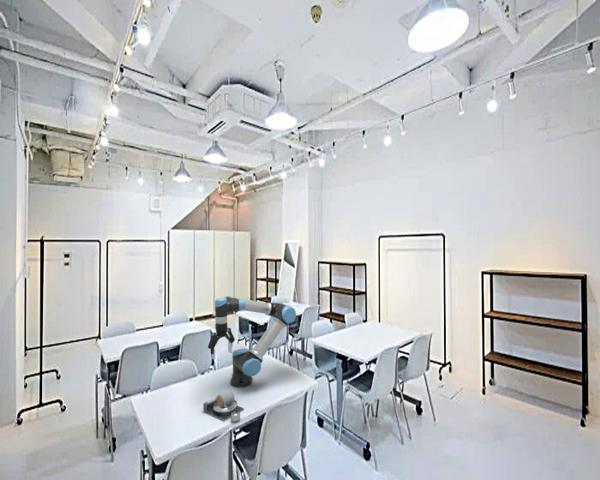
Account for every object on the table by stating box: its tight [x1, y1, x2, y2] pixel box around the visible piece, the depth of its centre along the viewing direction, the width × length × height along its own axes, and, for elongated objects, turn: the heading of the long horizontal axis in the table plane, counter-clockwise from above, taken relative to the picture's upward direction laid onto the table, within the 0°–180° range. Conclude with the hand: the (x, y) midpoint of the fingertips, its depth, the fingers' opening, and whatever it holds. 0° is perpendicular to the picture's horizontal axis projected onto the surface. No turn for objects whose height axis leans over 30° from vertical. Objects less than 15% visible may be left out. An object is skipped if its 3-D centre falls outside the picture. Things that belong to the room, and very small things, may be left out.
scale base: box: [202, 396, 245, 422], centre depth 193 cm, size 15×18×5 cm
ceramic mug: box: [216, 389, 236, 409], centre depth 191 cm, size 11×8×8 cm
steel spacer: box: [230, 411, 241, 424], centre depth 183 cm, size 5×5×4 cm
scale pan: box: [213, 400, 238, 412], centre depth 192 cm, size 14×14×3 cm
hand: (222, 355), depth 210 cm, fingers open, 13 cm apart
